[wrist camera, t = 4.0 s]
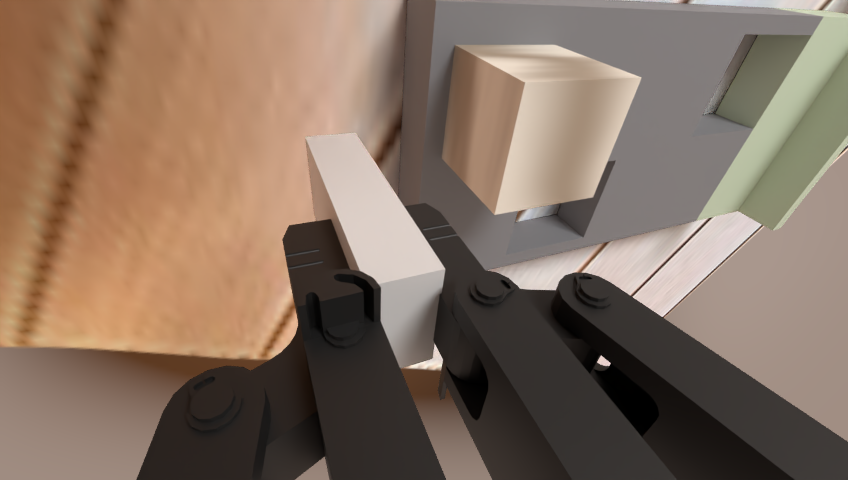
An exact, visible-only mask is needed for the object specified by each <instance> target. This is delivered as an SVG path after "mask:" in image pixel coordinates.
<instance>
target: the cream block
mask: <svg viewBox="0 0 848 480" xmlns="http://www.w3.org/2000/svg"><path fill="white" fill-rule="evenodd" d="M641 78H642V77H639V76H636V75H634V74H631V73H628V72H626V71H623V70H620V69H618V68H615V67H612V66H610V65H607V64H605V63H602V62H599V61H597V60H594V59H591V58H589V57H586V56H583V55H581V54H578V53H576V52H573V51H570V50H568V49H565V48H562V47H560V46H557V45H455V50H454V58H453V67H452V75H451V84H450V92H449V101H448V109H447V117H446V126H445V134H444V143H443V151H442V159H443V160H444V161H445V162H446V163H447V165H448V166H449V167H450V168H451V169H452V170H453V171H454V172H455V173H456V174H457V175H458V176H459V177H460V179H461V180H462V181H463V182H464V183H465V184H466V185H467V186H468V187H469V188H470V189H471V190H472V191H473V192H474V194H475V195H476V196H477V197H478V198H479V199H480V200H481V201H482V202H483V203H484V204H485V205H486V206H487V207H488V209H489V210H490V211H491V212H492V213H493V214H494V215H497V214H503V213H508V212H514V211H519V210H525V209H531V208H536V207H542V206H547V205H553V204H558V203H564V202H569V201H575V200H581V199H586V198H592V197H593V196H594V194H595V191H596V189H597V186H598V184H599V181H600V179H601V176H602V174H603V171H604V169H605V167H606V164H607V162H608V159H609V157H610V154H611V152H612V149H613V147H614V144H615V142H616V140H617V137H618V135H619V132H620V130H621V127H622V125H623V122H624V120H625V117H626V115H627V113H628V110H629V108H630V105H631V103H632V100H633V98H634V95H635V93H636V90H637V88H638V86H639V83H640V81H641Z"/></svg>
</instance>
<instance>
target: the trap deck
mask: <svg viewBox="0 0 848 480" xmlns="http://www.w3.org/2000/svg"><path fill="white" fill-rule="evenodd" d="M745 34H758V36H757V38H756V40H755V42H754V43H753V45H752V47H751V49H750V51H749V52H748V54H747V56H746V58H745V60H744V62H743V63H742V65H741V67H740V69H739V71H738V73H737V74H736V76H735V78H734V80H733V82H732V83H731V85H730V87H729V89H728V91H727V93H726V94H725V96H724V98H723V100H722V102H721V103H720V105H719V107H718V109H717V111H716V113H715V114H706V115H703V113H704V111H705V109H706V107H707V106H708V104H709V102H710V100H711V98H712V96H713V94H714V92H715V90H716V89H717V87H718V85H719V83H720V81H721V79H722V77H723V75H724V74H725V72H726V70H727V68H728V66H729V64H730V62H731V60H732V58H733V57H734V55H735V53H736V51H737V49H738V47H739V45H740V43H741V41H742V40H743V38H744V36H745ZM455 45H557V46H560V47H562V48H565V49H568V50H570V51H573V52H576V53H578V54H581V55H583V56H586V57H589V58H591V59H594V60H597V61H599V62H602V63H605V64H607V65H610V66H612V67H615V68H618V69H620V70H623V71H626V72H628V73H631V74H634V75H636V76H639V77H642V78H641V81H640V83H639V86H638V88H637V90H636V93H635V95H634V98H633V100H632V103H631V105H630V108H629V110H628V113H627V115H626V117H625V120H624V122H623V125H622V127H621V130H620V132H619V135H618V137H617V140H616V142H615V144H614V147H613V149H612V152H611V154H610V157H609V159H608V162H607V164H606V167H605V169H604V171H603V174H602V176H601V179H600V181H599V184H598V186H597V189H596V191H595V194H594V196H593V197H592V198H586V199H581V200H575V201H569V202H564V203H561V205H560V208H559V211H558V213H557V215H552V216H546V217H541V218H536V219H531V220H526V221H520V222H515V220H516V216H517V212H518V211H514V212H508V213H503V214H497V215H494V214H493V213H492V212H491V211H490V210H489V209H488V207H487V206H486V205H485V204H484V203H483V202H482V201H481V200H480V199H479V198H478V197H477V196H476V195H475V194H474V192H473V191H472V190H471V189H470V188H469V187H468V186H467V185H466V184H465V183H464V182H463V181H462V180H461V179H460V177H459V176H458V175H457V174H456V173H455V172H454V171H453V170H452V169H451V168H450V167H449V166H448V165H447V163H446V162H445V161H444V160H443V159H442V151H443V143H444V134H445V126H446V117H447V109H448V101H449V92H450V84H451V75H452V67H453V58H454V50H455ZM847 144H848V14H845V13H839V12H832V11H820V10H800V9H780V8H760V7H740V6H720V5H701V4H681V3H661V2H641V1H621V0H407V18H406V40H405V62H404V84H403V105H402V127H401V149H400V171H399V193H398V198H399V199H400V201H401V203H402V204H403V206H409V205H415V204H421V203H426V204H428V205H430V206H431V207H433V208H435V209H436V210H438V211H440V212H441V214H442V215H443V216H444V217H445V219H446V220H447V221H448V223H449V225H450V226H452V228H453V229H454V230H455V232H456V233H457V236H459V237H460V238H461V239H462V241H463V242H464V243H465V245H466V246H467V247H468V248H469V250H470V251H471V252H472V254H473V255H474V256H475V258H476V259H477V260H478V261H479V263H480V264H481V265H482V267H483V268H484V269H485V270H490V269H494V268H498V267H502V266H507V265H511V264H515V263H519V262H524V261H528V260H532V259H536V258H541V257H545V256H549V255H553V254H558V253H562V252H566V251H570V250H575V249H579V248H583V247H587V246H592V245H596V244H600V243H604V242H609V241H613V240H617V239H621V238H626V237H630V236H634V235H638V234H643V233H647V232H651V231H655V230H660V229H664V228H668V227H672V226H676V225H681V224H685V223H689V222H693V221H698V220H702V219H706V218H710V217H715V216H719V215H723V214H727V213H732V212H736V211H739V212H741V213H742V214H744V215H746V216H748V217H750V218H751V219H753V220H755V221H757V222H758V223H760V224H762V225H764V226H765V227H768V228H769V229H771V230H776V229H779V228H780V227H781V226H782V225H783V224H784V223H785V221H786V220H787V219H788V218H789V216H790V215H791V214H792V213H793V211H794V210H795V209H796V207H797V206H798V205H799V204H800V203H801V201H802V200H803V199H804V198H805V196H806V195H807V194H808V193H809V191H810V190H811V189H812V188H813V186H814V185H815V184H816V183H817V181H818V180H819V179H820V178H821V176H822V175H823V174H824V173H825V171H826V170H827V169H828V168H829V167H830V165H831V164H832V163H833V162H834V160H835V159H836V158H837V157H838V155H839V154H840V153H841V152H842V150H843V149H844V148H845V147H846V145H847Z"/></svg>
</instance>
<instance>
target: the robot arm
mask: <svg viewBox="0 0 848 480" xmlns="http://www.w3.org/2000/svg"><path fill="white" fill-rule="evenodd" d="M305 140H306V148H307V157H308V166H309V174H310V183H311V191H312V200H313V209H314V215H315V218H316V221H315V222H308V223H302V224H296V225H289V227H288V229H287V231H286V233H285V235H284V238H283V245H284V251H285V256H286V262H287V267H288V272H289V278H290V283H291V289H292V294H293V299H294V303H295V309H296V314H297V319H298V328H297V331H296V334H295V336H294V338H293V339H292V341H291V343H290V344H289V345H288V346H287V347H286V348H285V349H284V350H283V351H282V352H281V353H279V354H278V355H277V356H275V357H274V358H272V359H271V360H269V361H267V362H265V363H264V364H262V365H260V366H258V367H257V368H255V369H253V370H251V371H250V370H248V369H246V368H244V367H236V366H223V367H219V368H215V369H211V370H207V371H205V372H204V373H201V374H200V375H198V376H196V377H194V378H192V379H190V380H189V381H188V382H187V383H186V384H185V385H183V386H182V387H181V388H180V389H179V390H178V391H177V392H176V393H175V394H174V395H173V397H172V398H171V400H170V401H169V403H168V404H167V406H166V408H165V409H164V411H163V413H162V416H161V418H160V421H159V424H158V426H157V429H156V431H155V434H154V437H153V440H152V442H151V444H150V447H149V449H148V452H147V454H146V457H145V459H144V462H143V465H142V467H141V470H140V472H139V475H138V477H137V480H295V479H296V478H297V477H299V476H300V475H301V474H302V473H303V472H305V471H306V470H308V469H309V468H310V467H312V466H313V465H314V464H315V463H317V462H318V461H319V460H321V459H322V458H323V457H324V456H325V459H326V464H327V469H328V474H329V479H330V480H446V478H445V476H444V473H443V471H442V468H441V466H440V464H439V461H438V459H437V456H436V454H435V451H434V449H433V447H432V444H431V442H430V439H429V437H428V434H427V432H426V430H425V427H424V425H423V422H422V420H421V417H420V415H419V413H418V410H417V408H416V405H415V403H414V401H413V398H412V396H411V393H410V391H409V388H408V386H407V384H406V381H405V379H404V376H403V374H402V372H401V369H400V368H404V367H407V366H410V365H413V364H417V363H420V362H423V361H426V360H430V359H432V357H433V350H434V344H435V345H436V347H437V348H438V350H439V352H440V354H441V356H442V358H443V364H442V369H441V375H440V381H439V387H438V393H439V397H440V400H441V399H444V398H445V394H446V389H447V388H448V390H449V392H450V394H451V396H452V398H453V400H454V402H455V404H456V406H457V408H458V410H459V413H460V415H461V417H462V419H463V420H464V423H465V425H466V427H467V429H468V431H469V433H470V435H471V437H472V439H473V441H474V443H475V445H476V447H477V449H478V451H479V453H480V455H481V457H482V459H483V461H484V463H485V466H486V468H487V470H488V472H489V474H490V476H491V478H492V480H848V442H847V441H846V440H844V439H843V438H841V437H840V436H838V435H837V434H835V433H834V432H832V431H831V430H829V429H828V428H826V427H825V426H823V425H822V424H820V423H819V422H817V421H816V420H815V419H813V418H812V417H810V416H809V415H807V414H806V413H804V412H803V411H801V410H800V409H798V408H797V407H795V406H793V405H792V404H791V403H789V402H788V401H786V400H785V399H783V398H782V397H780V396H779V395H777V394H776V393H774V392H773V391H771V390H770V389H768V388H767V387H765V386H764V385H762V384H761V383H759V382H758V381H756V380H755V379H753V378H752V377H750V376H749V375H747V374H746V373H745V372H743V371H741V370H740V369H739V368H737V367H736V366H734V365H733V364H731V363H730V362H728V361H727V360H725V359H724V358H722V357H721V356H719V355H718V354H716V353H715V352H713V351H712V350H710V349H709V348H707V347H706V346H704V345H703V344H701V343H700V342H698V341H697V340H695V339H694V338H692V337H691V336H689V335H688V334H686V333H685V332H683V331H682V330H680V329H679V328H677V327H676V326H674V325H673V324H671V323H670V322H669V321H667V320H665V319H664V318H663V317H661V316H660V315H658V314H657V313H655V312H654V311H652V310H651V309H649V308H648V307H646V306H645V305H643V304H642V303H640V302H639V301H637V300H636V299H634V298H633V297H631V296H630V295H628V294H627V293H625V292H624V291H622V290H621V289H619V288H618V287H616V286H615V285H613V284H612V283H610V282H608V281H607V280H605V279H603V278H601V277H599V276H595V275H592V274H588V273H572V274H568V275H565V276H564V277H563V278H562V279H561V280H560V281H559V284H558V287H557V289H556V290H525V289H519V287H518V286H517V285H516V284H515V283H513V282H512V281H511V280H510V279H509V278H507V277H505V276H503V275H501V274H499V273H496V272H491V271H486V270H485V269H484V268H483V267H482V265H481V264H480V263H479V261H478V260H477V259H476V258H475V256H474V255H473V254H472V252H471V251H470V250H469V248H468V247H467V246H466V245H465V243H464V242H463V241H462V239H461V238H460V237H459V236H457V233H456V232H455V230H454V229H453V228H452V226H450V225H449V223H448V221H447V220H446V219H445V217H444V216H443V215H442V214H441V212H440V211H438V210H436V209H435V208H433V207H431V206H430V205H428V204H426V203H421V204H415V205H409V206H403V204H402V203H401V201H400V199H399V198H398V196H397V195H396V193H395V192H394V190H393V189H392V187H391V186H390V184H389V183H388V181H387V180H386V178H385V177H384V175H383V174H382V172H381V171H380V169H379V168H378V166H377V165H376V163H375V162H374V160H373V159H372V157H371V156H370V154H369V152H368V151H367V149H366V148H365V146H364V145H363V143H362V142H361V140H360V139H359V137H358V136H357V134H356V133H344V134H331V135H319V136H307V137H305ZM601 355H602V356H603V357H604V358H605V359H606V360H608V361H609V362H610V363H611V364H610V366H603V365H600V364H598V363H597V361H598V359H599V358H600V356H601Z"/></svg>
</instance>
